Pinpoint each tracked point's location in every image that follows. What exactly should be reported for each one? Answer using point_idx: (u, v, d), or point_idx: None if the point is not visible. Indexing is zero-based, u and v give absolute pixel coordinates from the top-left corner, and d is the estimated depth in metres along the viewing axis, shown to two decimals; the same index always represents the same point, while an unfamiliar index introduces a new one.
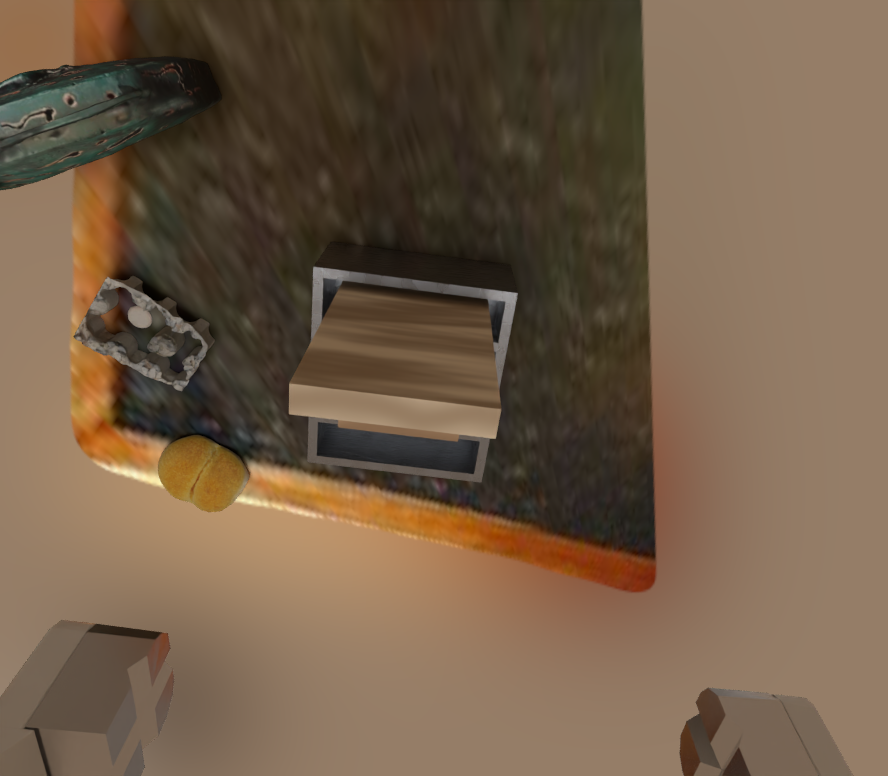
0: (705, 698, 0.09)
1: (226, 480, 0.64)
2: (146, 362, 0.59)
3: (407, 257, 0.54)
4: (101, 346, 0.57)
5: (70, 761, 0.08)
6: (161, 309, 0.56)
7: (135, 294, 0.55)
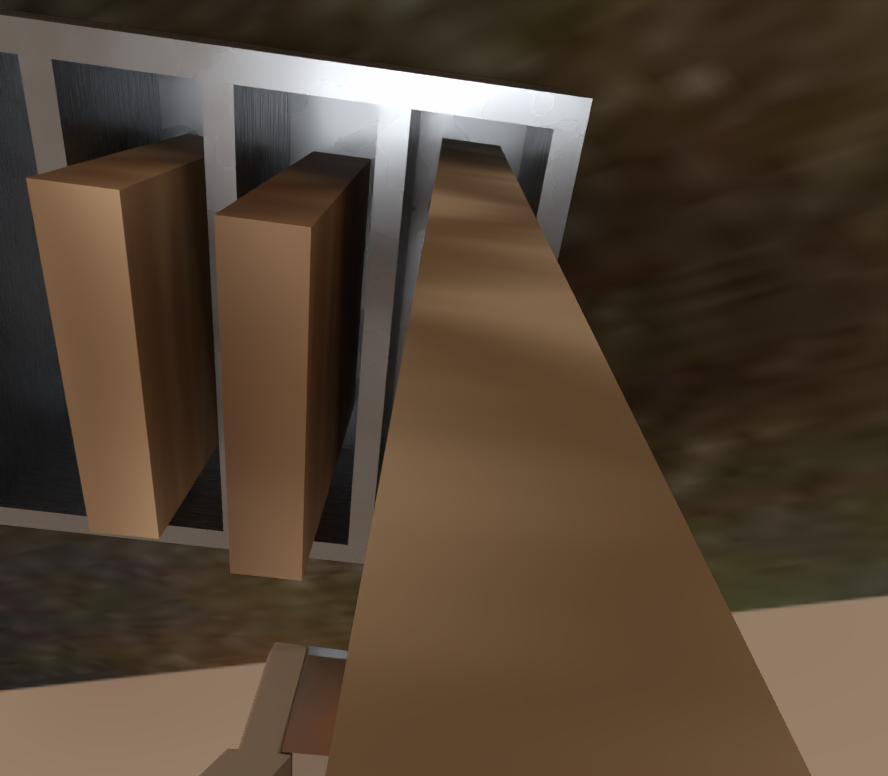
0: None
1: None
2: None
3: None
4: None
5: None
6: None
7: None
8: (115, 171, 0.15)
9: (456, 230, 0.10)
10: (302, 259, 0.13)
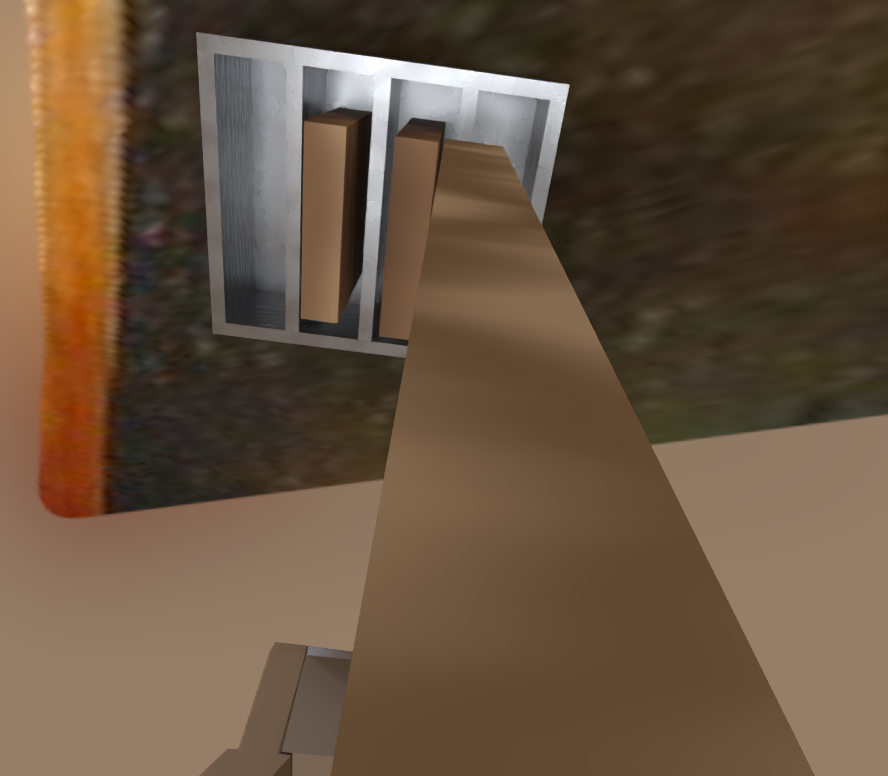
0: None
1: None
2: None
3: None
4: None
5: None
6: None
7: None
8: (333, 120, 0.31)
9: (460, 231, 0.10)
10: (433, 158, 0.29)
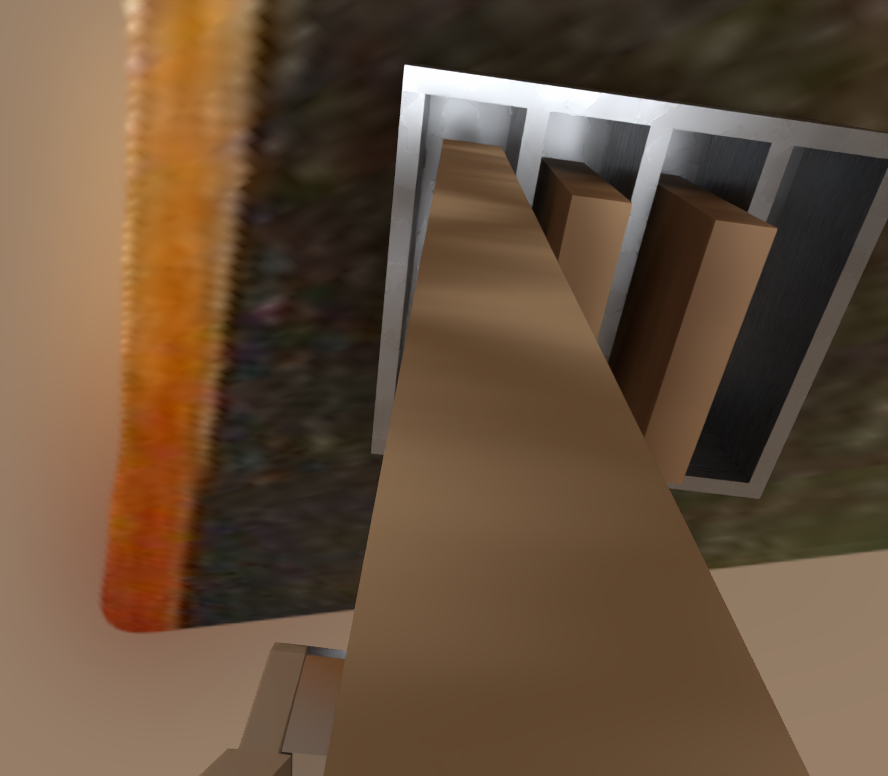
0: None
1: None
2: None
3: None
4: None
5: None
6: None
7: None
8: (593, 189, 0.22)
9: (458, 231, 0.10)
10: (764, 249, 0.20)
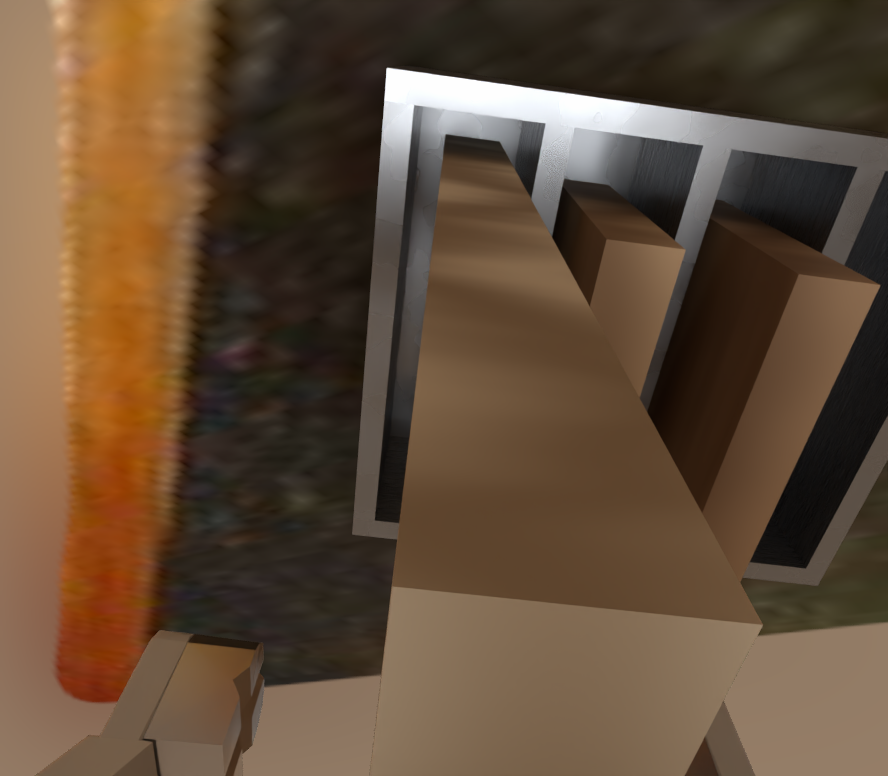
0: None
1: None
2: None
3: None
4: None
5: (183, 772, 0.08)
6: None
7: None
8: (630, 227, 0.17)
9: (464, 213, 0.11)
10: (861, 312, 0.15)
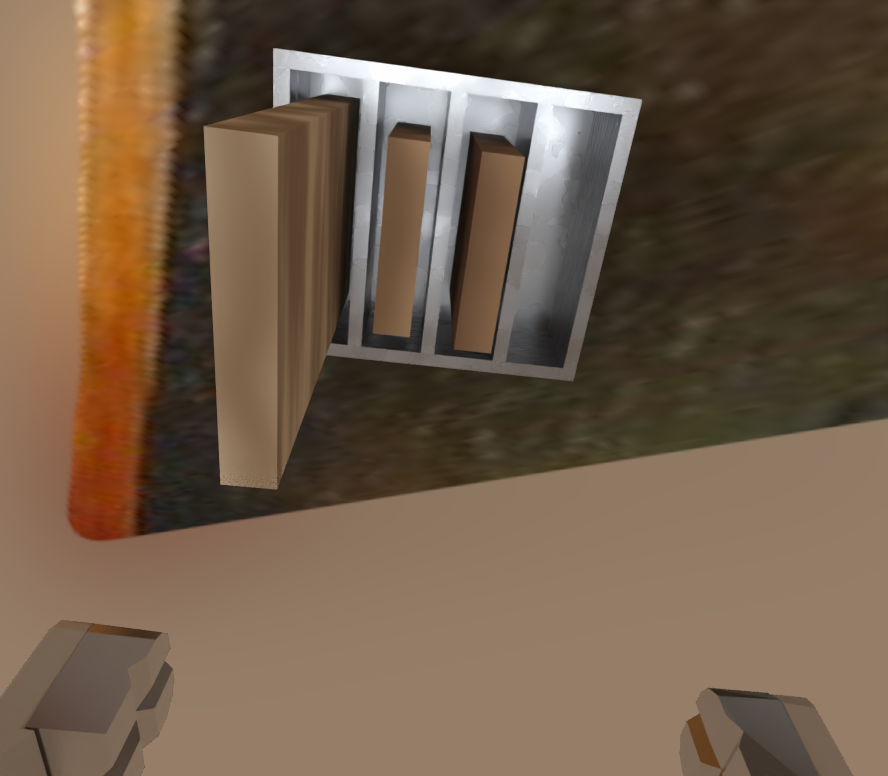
0: (705, 698, 0.09)
1: None
2: None
3: None
4: None
5: (70, 761, 0.08)
6: None
7: None
8: (411, 136, 0.31)
9: (290, 108, 0.25)
10: (518, 172, 0.29)
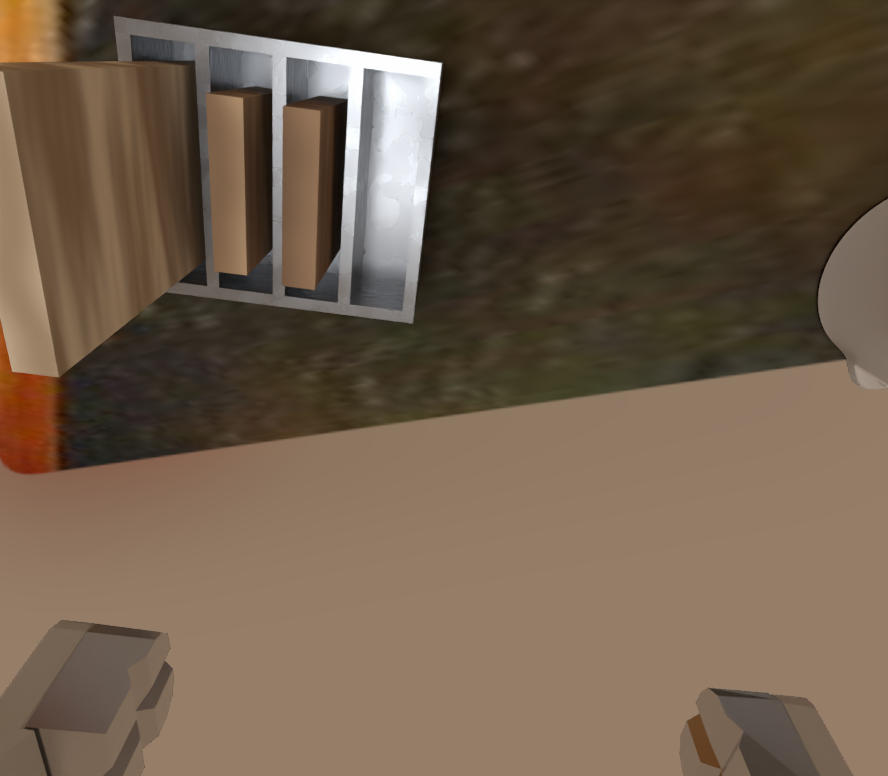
0: (705, 698, 0.09)
1: None
2: None
3: (431, 172, 0.44)
4: None
5: (70, 761, 0.08)
6: None
7: None
8: (235, 94, 0.35)
9: (95, 63, 0.30)
10: (317, 125, 0.33)
